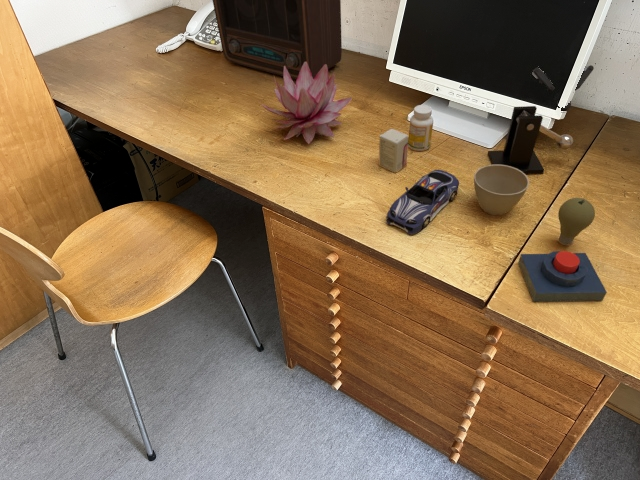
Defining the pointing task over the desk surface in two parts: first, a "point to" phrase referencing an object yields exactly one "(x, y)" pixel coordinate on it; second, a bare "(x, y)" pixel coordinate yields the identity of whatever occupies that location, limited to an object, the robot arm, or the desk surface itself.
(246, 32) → the radio
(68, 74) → the desk surface
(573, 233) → the light bulb
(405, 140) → the small box
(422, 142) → the supplement bottle
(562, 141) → the grey rod with ball
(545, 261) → the control block
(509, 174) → the beige bowl
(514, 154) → the black lever stand
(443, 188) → the toy car
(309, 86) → the decorative flower
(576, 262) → the button
